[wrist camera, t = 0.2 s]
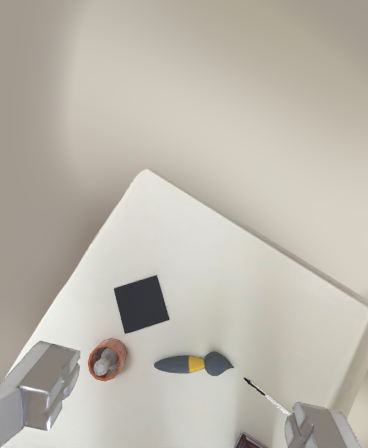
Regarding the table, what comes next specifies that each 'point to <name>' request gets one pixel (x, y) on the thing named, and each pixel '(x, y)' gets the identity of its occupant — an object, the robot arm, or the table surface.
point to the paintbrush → (195, 364)
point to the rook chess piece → (105, 361)
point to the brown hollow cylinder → (93, 358)
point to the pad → (141, 304)
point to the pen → (268, 397)
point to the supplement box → (248, 442)
